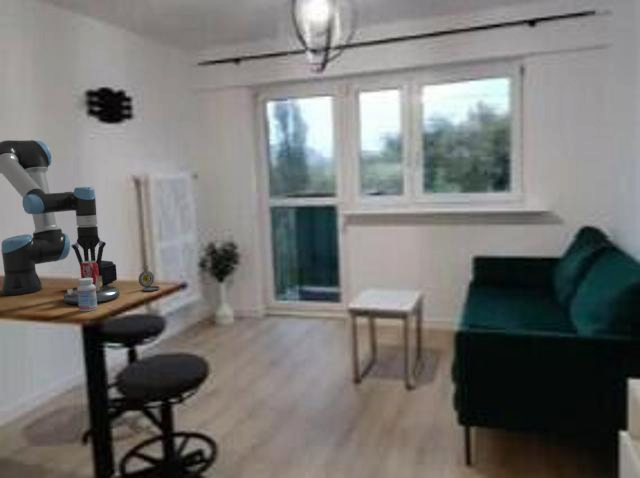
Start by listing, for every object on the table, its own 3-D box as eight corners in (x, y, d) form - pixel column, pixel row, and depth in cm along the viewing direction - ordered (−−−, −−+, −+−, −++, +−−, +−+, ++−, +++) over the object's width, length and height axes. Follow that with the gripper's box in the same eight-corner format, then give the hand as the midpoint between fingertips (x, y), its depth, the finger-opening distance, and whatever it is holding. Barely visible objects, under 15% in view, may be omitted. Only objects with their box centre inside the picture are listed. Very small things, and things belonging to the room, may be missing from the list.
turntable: (74, 291, 227) (73, 277, 226) (125, 288, 230) (124, 274, 229) (56, 305, 205) (55, 289, 204) (113, 301, 208) (112, 285, 207)
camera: (81, 289, 240) (101, 289, 231) (77, 263, 239) (96, 262, 230) (103, 284, 248) (123, 284, 239) (99, 259, 247) (119, 258, 238)
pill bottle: (75, 311, 198) (72, 280, 197) (88, 307, 204) (85, 276, 202) (88, 312, 196) (85, 281, 195) (101, 308, 202) (98, 277, 200)
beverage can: (80, 294, 212) (77, 263, 211) (85, 291, 218) (82, 260, 217) (97, 293, 213) (94, 262, 211) (102, 290, 219) (99, 259, 217)
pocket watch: (154, 292, 225) (152, 267, 223) (135, 291, 226) (133, 267, 225) (164, 287, 233) (162, 263, 231) (146, 287, 234) (144, 263, 233)
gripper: (71, 228, 215) (76, 288, 218) (106, 225, 223) (110, 283, 226) (67, 226, 221) (72, 285, 224) (101, 224, 229) (106, 280, 232)
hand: (91, 284), depth 225 cm, fingers closed
